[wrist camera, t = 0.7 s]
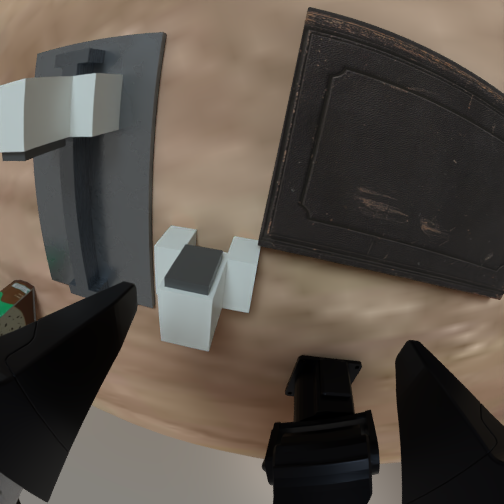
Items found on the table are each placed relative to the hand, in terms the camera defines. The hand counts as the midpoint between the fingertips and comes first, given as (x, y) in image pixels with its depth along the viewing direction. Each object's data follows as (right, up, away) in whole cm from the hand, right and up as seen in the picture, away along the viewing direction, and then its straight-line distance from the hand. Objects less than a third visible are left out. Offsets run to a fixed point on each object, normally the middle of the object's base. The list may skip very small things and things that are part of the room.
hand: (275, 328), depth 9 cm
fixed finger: (-13, +13, +8) cm, 20 cm away
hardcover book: (+13, +8, +9) cm, 18 cm away
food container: (-31, -4, +20) cm, 37 cm away
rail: (-14, +8, +12) cm, 20 cm away
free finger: (-4, +2, +14) cm, 14 cm away
